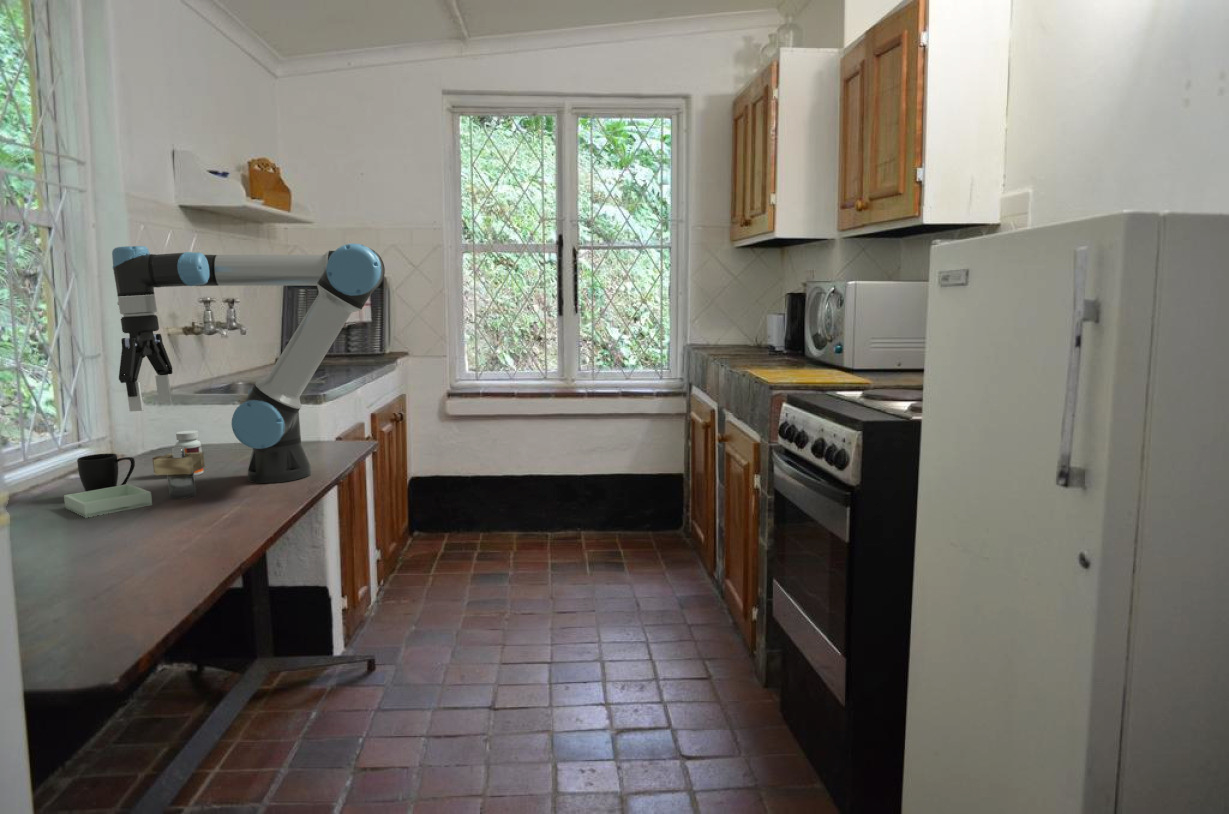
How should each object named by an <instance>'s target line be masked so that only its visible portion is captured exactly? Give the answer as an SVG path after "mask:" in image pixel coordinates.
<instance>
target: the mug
mask: <svg viewBox="0 0 1229 814" xmlns="http://www.w3.org/2000/svg"><path fill="white" fill-rule="evenodd" d="M124 460H127V461H128V460H129V461H130V467H129V469H128V472H127V475H126V477H125V478H124V480H123V481H122V483H121V484H120V485H125V484H128V481H129V478H130V477H131V475H132V473H133V472H134V470H135V466H136V465H135V464H136V462H135V458H134V457H131V456H126V457H120V458H118V454H116V453H95V454H89V455H84V456H81V457H78V458H77V459H76V461H77V470H78V475H79V479H80V482H81V484H82V487H83V489H84V492H86V491H92V490H97V489H103V488H109V487H114V486H118V485H117V484H118V479H119V463H120V461H124Z"/></svg>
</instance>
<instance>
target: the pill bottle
mask: <svg viewBox="0 0 1229 814" xmlns="http://www.w3.org/2000/svg"><path fill="white" fill-rule="evenodd" d="M175 434H176V435H175V436H176V440H177V442H176V443H175V445H174V446H175V447H184V451H185V453H195V452H203V451H202V443H201V441H200V440H198V438H199V430H194V429H193V430H183V431H182V430H181V431H176V433H175ZM203 473H204V467H203V468H201V469H199V470H197V471H195V472H194V477H197V476H199V475H202V474H203Z"/></svg>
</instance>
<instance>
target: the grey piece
mask: <svg viewBox="0 0 1229 814" xmlns="http://www.w3.org/2000/svg"><path fill="white" fill-rule="evenodd" d="M171 453H172V455H173V458H185V451H184V447H172V448H171ZM166 477H167V484H168V494H169V499H175V500H177V499H179V500H180V499H185V498H186V499H187V498H192V497H194V496H196V495H197V489H196V481H195V476H194V472H193V473H191V474H174V475H166Z"/></svg>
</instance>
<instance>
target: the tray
mask: <svg viewBox="0 0 1229 814" xmlns="http://www.w3.org/2000/svg"><path fill="white" fill-rule="evenodd" d="M63 500H64V507H65V509H66V510H68V511H70V510H71V511H70V512H72V511H73V513H74V512H75V513H74V514H76V513H77V515H78V514H79V515H78V516H80V515H81V517H82V516H83V517H82V518H84V517H85V519H88V517H89V518H92V517H93V516H94V517H98V516H97V515H99V516H104V515H109V514H113V513H119V512H123V511H128V510H133V509H138V508H143V507H148V506H153V498H152V491H149V490H147V489H144V488H142V487H138V486H135V485H133V484H131V483H126V484H125V485H121V484H120V485H117V486H114V487H109V488H103V489H97V490H92V491H81V492H76V493H70V494H65V495H63ZM108 513H109V514H108ZM103 514H104V515H103ZM94 517H93V518H94Z"/></svg>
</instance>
